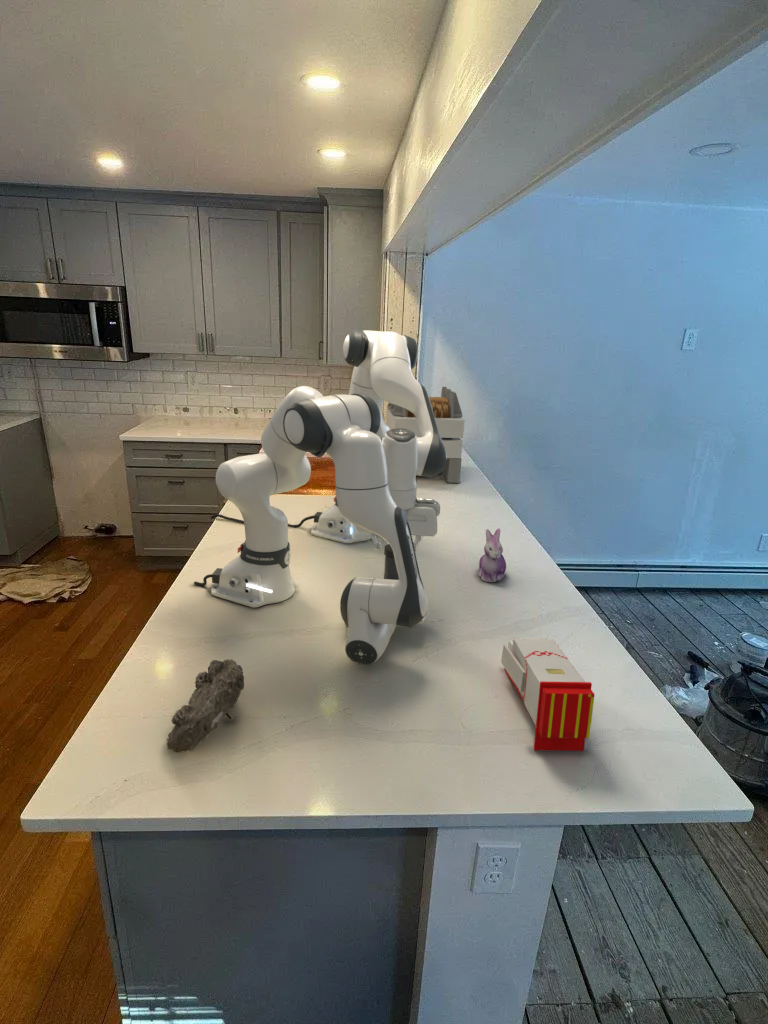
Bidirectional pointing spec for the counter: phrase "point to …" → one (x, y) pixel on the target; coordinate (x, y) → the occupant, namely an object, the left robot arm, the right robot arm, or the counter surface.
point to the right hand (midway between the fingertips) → (395, 549)
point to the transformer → (448, 427)
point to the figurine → (492, 559)
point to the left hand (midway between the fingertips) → (393, 591)
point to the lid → (388, 551)
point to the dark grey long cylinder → (390, 569)
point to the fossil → (206, 705)
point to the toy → (550, 693)
